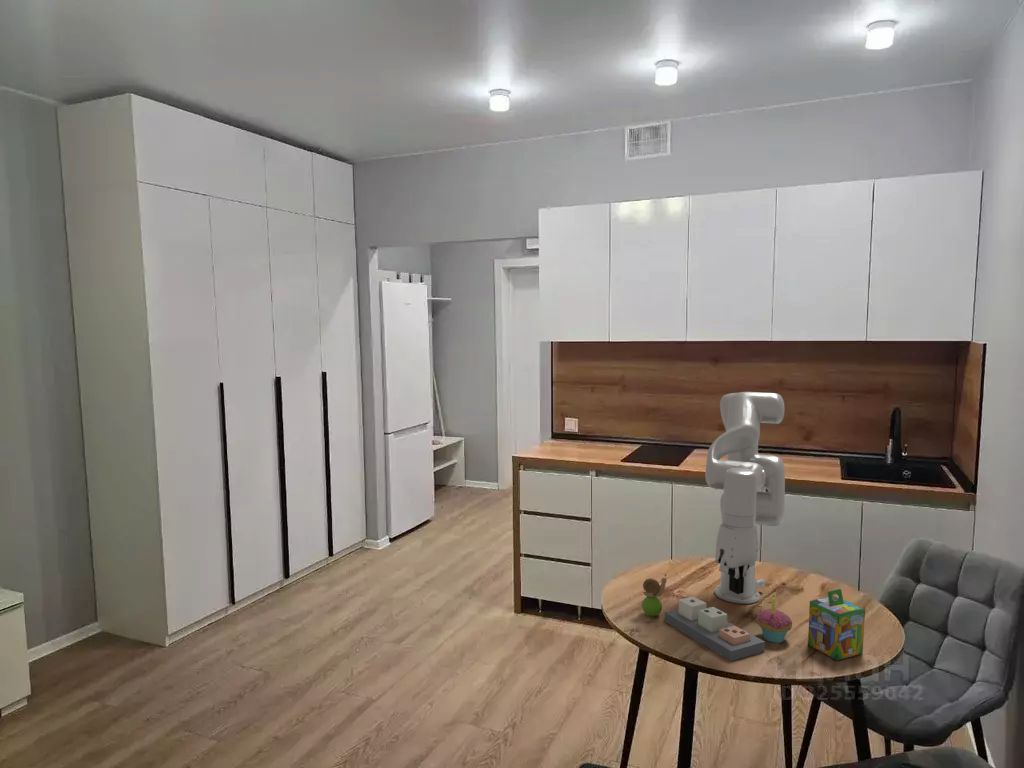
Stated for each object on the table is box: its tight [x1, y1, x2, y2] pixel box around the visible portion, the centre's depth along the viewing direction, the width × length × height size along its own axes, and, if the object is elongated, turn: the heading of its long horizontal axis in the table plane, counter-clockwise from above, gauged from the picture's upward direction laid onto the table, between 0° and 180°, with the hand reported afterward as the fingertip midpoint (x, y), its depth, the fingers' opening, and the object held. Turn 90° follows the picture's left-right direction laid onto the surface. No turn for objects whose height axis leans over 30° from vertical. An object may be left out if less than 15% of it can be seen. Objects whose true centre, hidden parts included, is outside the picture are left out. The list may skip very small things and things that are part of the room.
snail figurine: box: [641, 573, 667, 617], centre depth 182 cm, size 5×6×12 cm
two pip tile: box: [698, 606, 728, 633], centre depth 171 cm, size 5×5×4 cm
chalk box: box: [807, 588, 866, 661], centre depth 164 cm, size 9×9×15 cm
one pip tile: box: [678, 596, 707, 621], centre depth 177 cm, size 5×5×4 cm
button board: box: [664, 608, 766, 662], centre depth 171 cm, size 24×11×2 cm, turn 27°
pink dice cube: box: [719, 625, 751, 646], centre depth 164 cm, size 5×5×4 cm
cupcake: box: [755, 595, 793, 644], centre depth 169 cm, size 9×8×12 cm
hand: (736, 591), depth 164 cm, fingers closed
